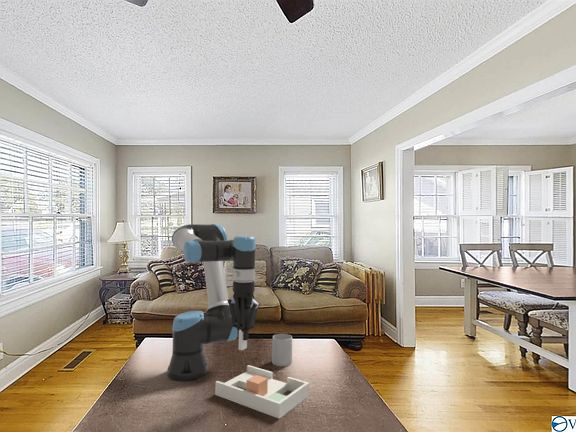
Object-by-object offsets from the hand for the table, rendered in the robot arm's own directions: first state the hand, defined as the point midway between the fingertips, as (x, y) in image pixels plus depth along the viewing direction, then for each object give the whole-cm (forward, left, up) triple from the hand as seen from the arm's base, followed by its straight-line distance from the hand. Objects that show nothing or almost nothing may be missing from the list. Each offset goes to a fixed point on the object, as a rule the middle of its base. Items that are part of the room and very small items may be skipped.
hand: (242, 348), depth 128 cm
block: (+7, -1, -13) cm, 15 cm away
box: (+6, +4, -16) cm, 17 cm away
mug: (-6, +34, -16) cm, 38 cm away
